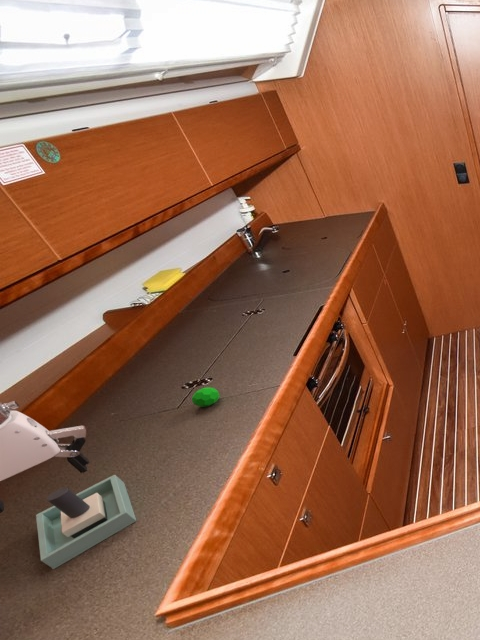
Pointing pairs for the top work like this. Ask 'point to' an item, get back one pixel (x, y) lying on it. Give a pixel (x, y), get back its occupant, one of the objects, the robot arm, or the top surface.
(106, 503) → the tray
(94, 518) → the brush
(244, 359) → the top surface
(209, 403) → the polyhedron
